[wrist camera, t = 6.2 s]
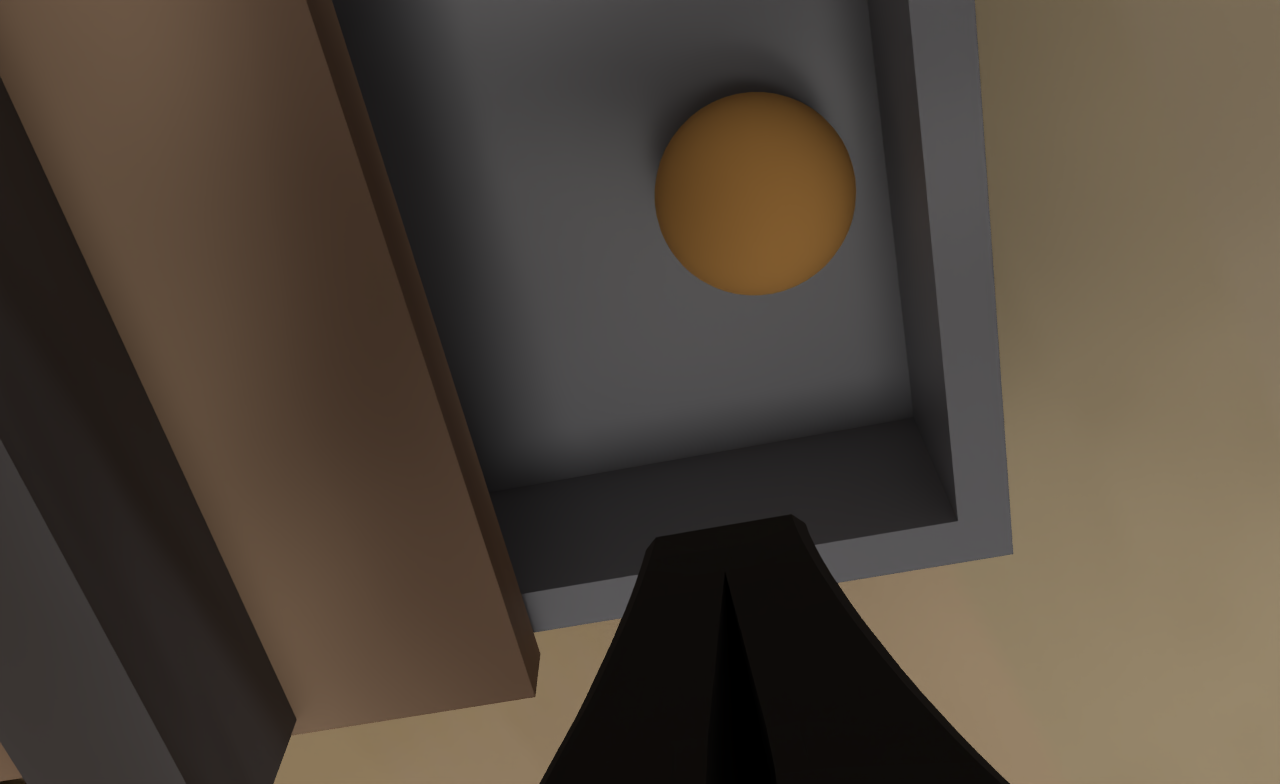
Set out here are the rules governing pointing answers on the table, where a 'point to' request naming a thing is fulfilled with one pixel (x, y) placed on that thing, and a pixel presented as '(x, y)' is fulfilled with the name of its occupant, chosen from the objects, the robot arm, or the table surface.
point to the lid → (221, 408)
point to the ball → (755, 193)
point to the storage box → (696, 281)
